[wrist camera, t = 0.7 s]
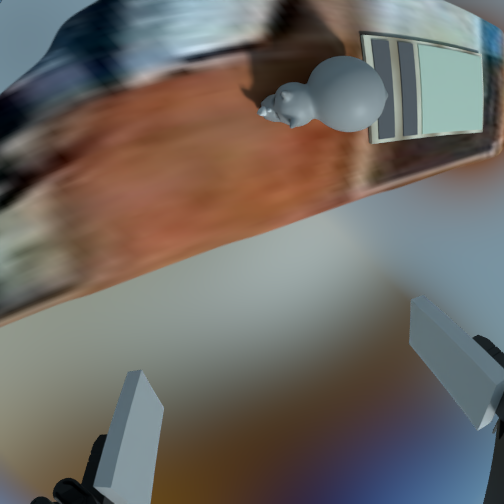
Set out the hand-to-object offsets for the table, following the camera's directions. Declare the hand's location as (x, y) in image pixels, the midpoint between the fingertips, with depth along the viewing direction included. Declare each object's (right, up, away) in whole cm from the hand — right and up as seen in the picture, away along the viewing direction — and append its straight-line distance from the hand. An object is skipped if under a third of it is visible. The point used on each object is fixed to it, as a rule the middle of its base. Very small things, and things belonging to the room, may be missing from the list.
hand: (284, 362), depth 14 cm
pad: (+27, +27, +18) cm, 42 cm away
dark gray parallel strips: (+15, +24, +17) cm, 33 cm away
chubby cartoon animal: (+4, +21, +15) cm, 26 cm away
